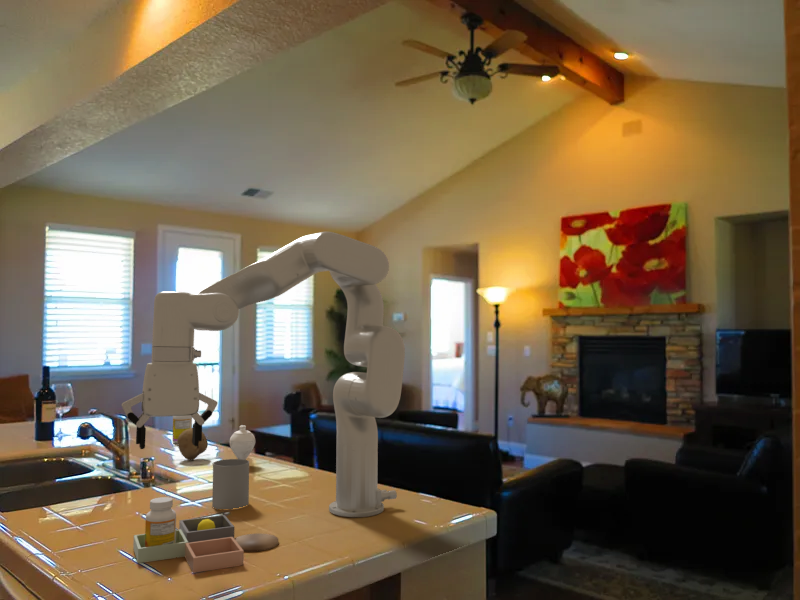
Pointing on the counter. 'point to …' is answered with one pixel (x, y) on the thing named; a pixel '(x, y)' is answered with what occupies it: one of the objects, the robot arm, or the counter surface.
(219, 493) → the cup
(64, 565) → the counter surface
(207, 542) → the bin terracotta
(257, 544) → the coaster
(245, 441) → the spinning top
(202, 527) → the light bulb
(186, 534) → the bin charcoal
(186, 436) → the brown potato
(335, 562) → the counter surface
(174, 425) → the supplement bottle
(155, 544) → the supplement bottle
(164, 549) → the bin sage
